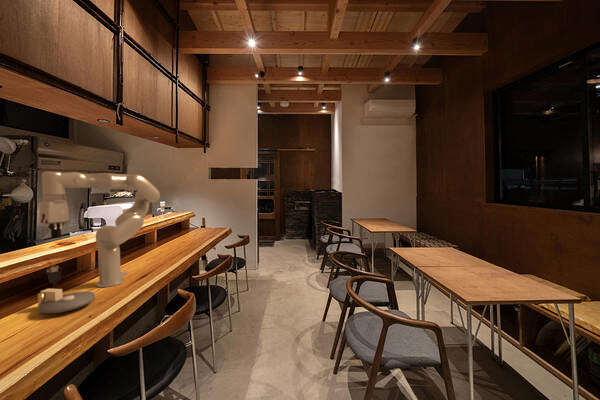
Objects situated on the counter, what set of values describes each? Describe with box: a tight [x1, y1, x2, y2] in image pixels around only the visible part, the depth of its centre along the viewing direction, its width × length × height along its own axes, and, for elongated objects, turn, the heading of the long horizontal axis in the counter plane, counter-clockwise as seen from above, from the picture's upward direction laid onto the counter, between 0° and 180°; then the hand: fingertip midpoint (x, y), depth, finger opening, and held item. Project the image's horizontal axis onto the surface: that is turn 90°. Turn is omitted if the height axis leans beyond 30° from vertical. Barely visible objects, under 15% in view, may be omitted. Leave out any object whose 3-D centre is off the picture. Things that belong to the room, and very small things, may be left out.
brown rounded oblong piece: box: [37, 292, 75, 313], centre depth 112 cm, size 8×15×7 cm, turn 83°
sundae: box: [44, 261, 64, 290], centre depth 130 cm, size 7×7×15 cm
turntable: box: [38, 288, 96, 314], centre depth 112 cm, size 20×18×6 cm
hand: (56, 237), depth 120 cm, fingers closed
